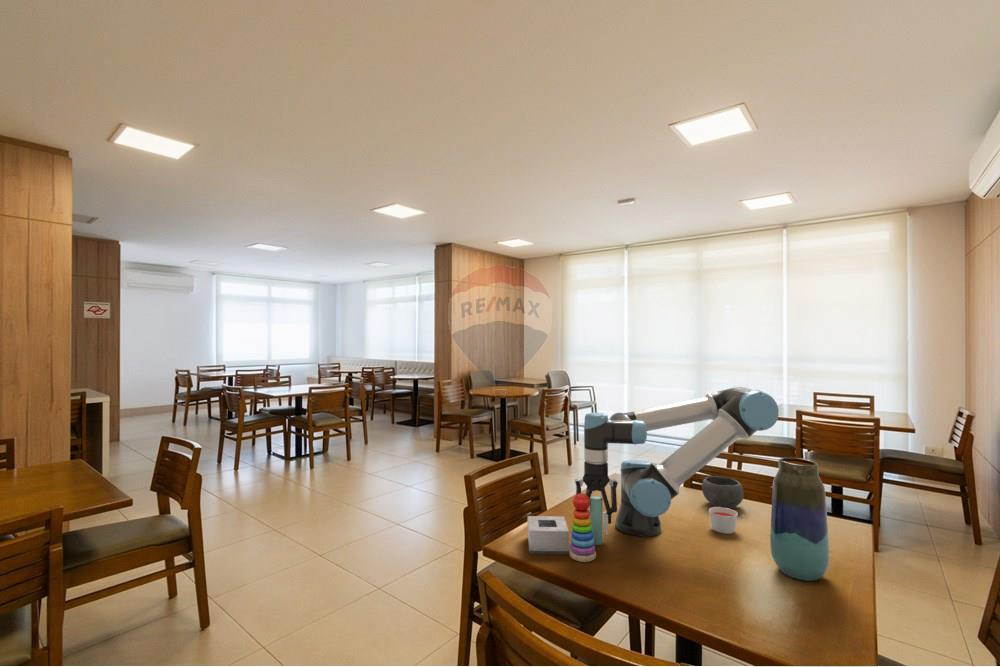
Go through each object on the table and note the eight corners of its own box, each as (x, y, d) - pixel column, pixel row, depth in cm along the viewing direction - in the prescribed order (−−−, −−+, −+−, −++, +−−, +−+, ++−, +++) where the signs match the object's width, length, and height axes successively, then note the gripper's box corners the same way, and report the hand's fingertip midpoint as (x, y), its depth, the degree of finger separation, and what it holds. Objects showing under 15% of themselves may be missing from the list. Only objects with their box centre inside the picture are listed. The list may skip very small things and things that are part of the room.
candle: (731, 537, 151) (731, 518, 151) (704, 529, 158) (704, 511, 158) (742, 530, 157) (742, 512, 157) (715, 522, 164) (715, 505, 164)
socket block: (563, 537, 150) (563, 516, 151) (568, 554, 138) (568, 531, 139) (527, 537, 151) (527, 516, 151) (529, 554, 139) (529, 530, 139)
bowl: (751, 512, 174) (751, 486, 174) (712, 512, 174) (712, 486, 174) (732, 499, 189) (732, 475, 189) (696, 499, 189) (695, 475, 189)
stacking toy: (597, 553, 139) (597, 491, 140) (594, 565, 132) (594, 499, 132) (571, 549, 142) (571, 488, 143) (567, 560, 134) (567, 496, 135)
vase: (832, 592, 118) (830, 470, 119) (769, 577, 125) (768, 463, 126) (827, 570, 130) (826, 459, 130) (771, 557, 137) (770, 453, 138)
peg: (601, 539, 149) (600, 496, 150) (603, 545, 145) (603, 500, 146) (588, 539, 149) (588, 496, 150) (591, 544, 145) (590, 500, 146)
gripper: (622, 458, 152) (622, 529, 151) (565, 458, 152) (565, 528, 151) (627, 464, 144) (628, 538, 143) (568, 464, 144) (568, 538, 144)
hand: (596, 533), depth 147 cm, fingers open, 6 cm apart
